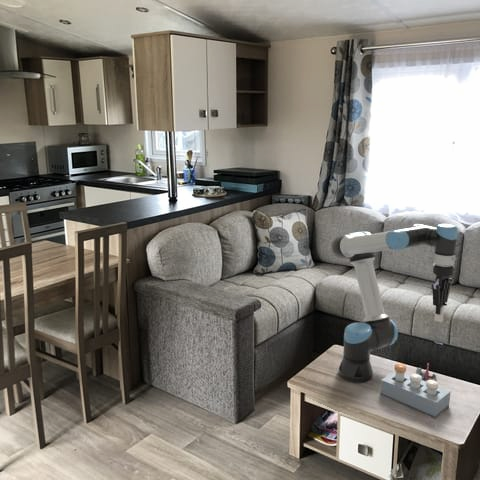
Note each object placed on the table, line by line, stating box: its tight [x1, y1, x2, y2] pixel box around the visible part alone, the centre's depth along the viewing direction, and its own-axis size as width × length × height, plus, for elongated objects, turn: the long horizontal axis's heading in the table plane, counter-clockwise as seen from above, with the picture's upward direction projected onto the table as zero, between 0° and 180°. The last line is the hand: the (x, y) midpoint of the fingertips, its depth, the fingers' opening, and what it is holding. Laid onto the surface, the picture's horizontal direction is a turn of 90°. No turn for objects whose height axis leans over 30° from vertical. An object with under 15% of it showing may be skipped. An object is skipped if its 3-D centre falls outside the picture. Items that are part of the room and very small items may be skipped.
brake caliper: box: [413, 362, 438, 382], centre depth 217 cm, size 11×11×12 cm
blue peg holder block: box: [379, 370, 451, 420], centre depth 206 cm, size 24×12×7 cm, turn 43°
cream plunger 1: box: [409, 373, 422, 390], centre depth 205 cm, size 5×5×9 cm
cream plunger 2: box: [426, 380, 440, 397], centre depth 200 cm, size 5×5×9 cm
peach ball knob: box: [394, 363, 407, 383], centre depth 210 cm, size 5×5×9 cm
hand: (438, 320), depth 201 cm, fingers closed
